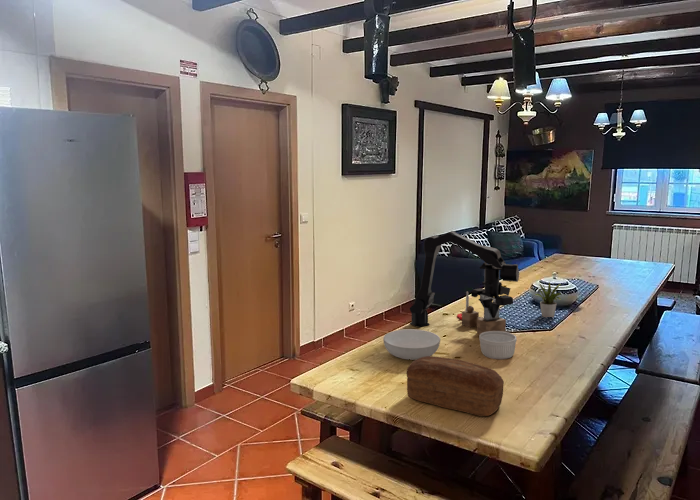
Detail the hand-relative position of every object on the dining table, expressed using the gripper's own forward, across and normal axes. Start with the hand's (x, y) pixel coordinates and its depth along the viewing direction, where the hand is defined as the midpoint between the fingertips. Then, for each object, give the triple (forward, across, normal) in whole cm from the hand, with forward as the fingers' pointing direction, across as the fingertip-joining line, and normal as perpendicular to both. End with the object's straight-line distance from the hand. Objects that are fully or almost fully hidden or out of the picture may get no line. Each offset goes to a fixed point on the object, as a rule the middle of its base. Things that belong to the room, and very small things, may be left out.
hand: (491, 316), depth 216 cm
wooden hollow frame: (+7, +6, 0) cm, 9 cm away
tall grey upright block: (+2, 0, 0) cm, 2 cm away
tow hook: (+7, +23, -7) cm, 25 cm away
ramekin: (+7, -19, +14) cm, 25 cm away
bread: (+7, -41, +53) cm, 68 cm away
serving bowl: (+7, -3, +41) cm, 42 cm away
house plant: (+7, +5, -36) cm, 38 cm away
